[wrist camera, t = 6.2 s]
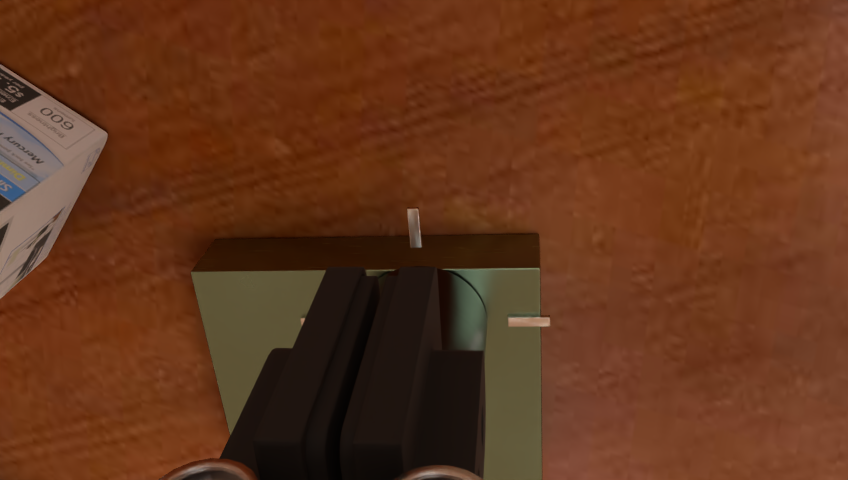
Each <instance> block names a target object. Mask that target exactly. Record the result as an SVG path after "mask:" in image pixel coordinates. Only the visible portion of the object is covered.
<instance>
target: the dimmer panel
mask: <svg viewBox="0 0 848 480" xmlns="http://www.w3.org/2000/svg"><path fill="white" fill-rule="evenodd" d="M407 214H408V225H409V235H410V236H377V237H318V238H260V239H215V240H214V241H213V242H212V244H211V245H210V247H209V248H208V249H207V251H206V252H205V253H204V255H203V256H202V257H201V259H200V260H199V261H198V263H197V264H196V266H195V267H194V268H193V270H192V271H191V276H192V280H193V285H194V289H195V293H196V297H197V301H198V305H199V309H200V313H201V317H202V322H203V326H204V330H205V334H206V338H207V342H208V346H209V350H210V355H211V359H212V363H213V367H214V371H215V375H216V379H217V383H218V387H219V392H220V396H221V400H222V404H223V408H224V412H225V416H226V420H227V424H228V429H229V433H230V435H231V433H232V431H233V429H234V427H235V425H236V423H237V421H238V418H239V416H240V414H241V412H242V410H243V408H244V406H245V404H246V402H247V399H248V397H249V395H250V393H251V391H252V389H253V387H254V385H255V383H256V380H257V378H258V376H259V374H260V372H261V370H262V368H263V366H264V363H265V361H266V359H267V357H268V355H269V354H270V352H271V351H272V350H273V349H275V348H293V346H294V343H295V341H296V339H297V336H298V334H299V332H300V329H301V327H302V325H303V322H304V320H305V318H306V316H307V313H308V311H309V309H310V306H311V304H312V302H313V299H314V297H315V295H316V292H317V290H318V288H319V286H320V283H321V281H322V279H323V276H324V274H325V272H326V270H327V268H328V267H364V268H365V270H366V274H367V276H377V277H378V279H379V278H381V277H382V276H384V275H385V274H387V273H389V272H391V271H394V270H397V269H400V267H409V266H429V267H436V268H439V269H442V270H445V271H448V272H450V273H452V274H454V275H456V276H458V277H459V278H461V279H462V280H464V281H465V282H466V283H467V284H468V285H469V286H471V287H472V289H473V290H474V291H475V292H476V293H477V295H478V296H479V298H480V299H481V301H482V303H483V306H484V308H485V311H486V315H487V336H486V351H485V394H486V432H485V458H484V477H483V480H542V392H541V327H549V326H550V315H541V286H540V247H539V234H495V235H436V236H421V228H420V217H419V207H408V208H407Z"/></svg>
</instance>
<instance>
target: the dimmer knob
mask: <svg viewBox="0 0 848 480" xmlns="http://www.w3.org/2000/svg"><path fill="white" fill-rule="evenodd" d="M409 267H429V266H409ZM436 269H437V275H438V289H439V306H440V323H441V340H442V350H480V351H484V362H485V351H486V336H487V315H486V311H485V308H484V306H483V303H482V301H481V299H480V298H479V296H478V295H477V293H476V292H475V291H474V290H473V289H472V287H471V286H469V285H468V284H467V283H466V282H465V281H464V280H462V279H461V278H459V277H458V276H456V275H454V274H452V273H450V272H448V271H445V270H442V269H439V268H436ZM398 273H399V269H397V270H394V271H391V272H389V273H387V274H385V275H384V276H382V277H381V278H379V279H378V280H379V286H380V296H381V293H382V290H383V286H384V283H385V279H386V277H387V276H398Z"/></svg>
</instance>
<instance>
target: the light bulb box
mask: <svg viewBox="0 0 848 480" xmlns="http://www.w3.org/2000/svg"><path fill="white" fill-rule="evenodd" d="M107 138H108V134H107V133H106V132H105V131H104V130H102V129H101V128H99V127H98V126H96V125H95V124H93V123H91V122H90V121H88V120H87V119H85V118H84V117H82V116H81V115H79V114H77V113H76V112H74V111H73V110H71V109H70V108H68V107H66V106H65V105H63V104H62V103H60V102H59V101H57V100H55V99H54V98H52V97H51V96H49V95H48V94H46V93H45V92H43V91H41V90H40V89H38V88H37V87H35V86H34V85H32V84H31V83H29V82H28V81H26V80H24V79H23V78H21V77H20V76H18V75H17V74H15V73H13V72H12V71H10V70H9V69H7V68H6V67H4V66H3V65H1V64H0V299H1V298H2V297H3V296H4V295H5V294H6V293H7V292H8V291H10V290H11V289H12V288H13V287H14V286H15V285H16V284H17V283H18V282H20V281H21V280H22V279H23V278H24V277H25V276H26V275H28V274H29V273H30V272H31V271H32V270H33V269H34V268H35V267H36V266H38V265H39V264H40V263H41V262H42V261H43V260H44V259H45V258H46V257H47V256H48V254H49V252H50V250H51V248H52V246H53V244H54V243H55V241H56V239H57V237H58V235H59V233H60V231H61V229H62V227H63V225H64V223H65V221H66V220H67V218H68V216H69V214H70V212H71V210H72V208H73V206H74V204H75V202H76V200H77V198H78V196H79V194H80V192H81V190H82V188H83V186H84V185H85V183H86V181H87V179H88V177H89V175H90V173H91V171H92V169H93V167H94V165H95V163H96V161H97V159H98V157H99V155H100V153H101V151H102V149H103V147H104V145H105V143H106V141H107Z"/></svg>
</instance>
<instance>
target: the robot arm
mask: <svg viewBox="0 0 848 480" xmlns="http://www.w3.org/2000/svg"><path fill="white" fill-rule="evenodd" d="M485 432H486V394H485V362H484V351H480V350H442V340H441V323H440V306H439V289H438V275H437V269H436V267H400V269H399V273H398V276H387V277H386V279H385V283H384V286H383V290H382V293H381V296H380V286H379V280H378V277H377V276H367V274H366V270H365V268H364V267H328V268H327V270H326V272H325V274H324V276H323V279H322V281H321V283H320V286H319V288H318V290H317V292H316V295H315V297H314V299H313V302H312V304H311V306H310V309H309V311H308V313H307V316H306V318H305V320H304V322H303V325H302V327H301V329H300V332H299V334H298V336H297V339H296V341H295V343H294V346H293V348H275V349H273V350H272V351H271V352H270V354H269V355H268V357H267V359H266V361H265V363H264V366H263V368H262V370H261V372H260V374H259V376H258V378H257V380H256V383H255V385H254V387H253V389H252V391H251V393H250V395H249V397H248V399H247V402H246V404H245V406H244V408H243V410H242V412H241V414H240V416H239V418H238V421H237V423H236V425H235V427H234V429H233V431H232V433H231V435H230V438H229V440H228V442H227V444H226V446H225V448H224V450H223V452H222V454H221V457H220V459H214V458H210V459H205V460H199V461H194V462H191V463H188V464H186V465H183V466H181V467H178V468H176V469H174V470H172V471H171V472H169V473H168V474H166V475H165V476H163V477H161V478H160V479H159V480H483V477H484V458H485Z"/></svg>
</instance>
